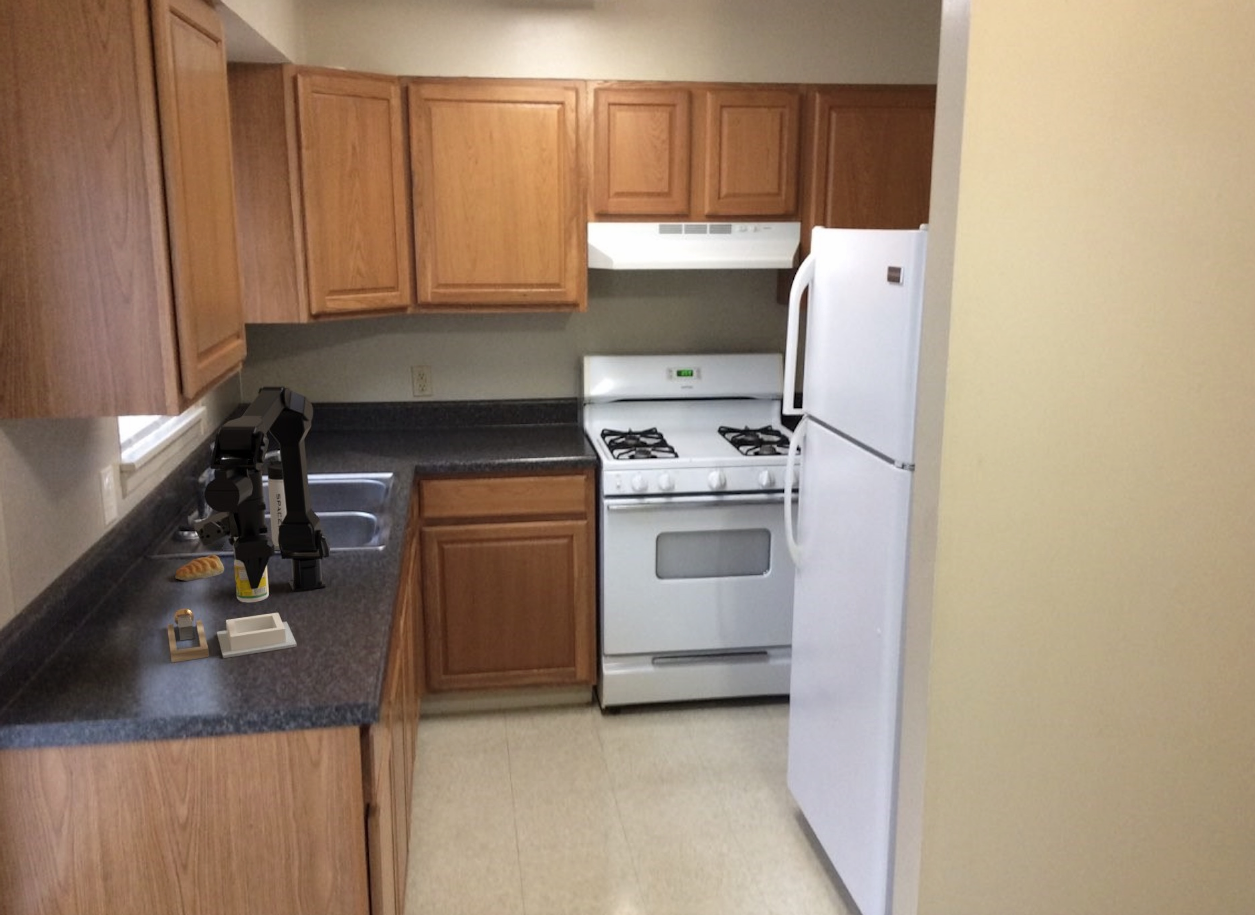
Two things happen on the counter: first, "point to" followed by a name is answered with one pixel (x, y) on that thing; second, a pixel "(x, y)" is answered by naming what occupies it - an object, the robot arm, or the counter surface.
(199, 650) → the mount
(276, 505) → the travel mug
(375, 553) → the counter surface
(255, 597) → the supplement bottle
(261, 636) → the socket
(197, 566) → the pastry
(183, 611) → the lock pin
